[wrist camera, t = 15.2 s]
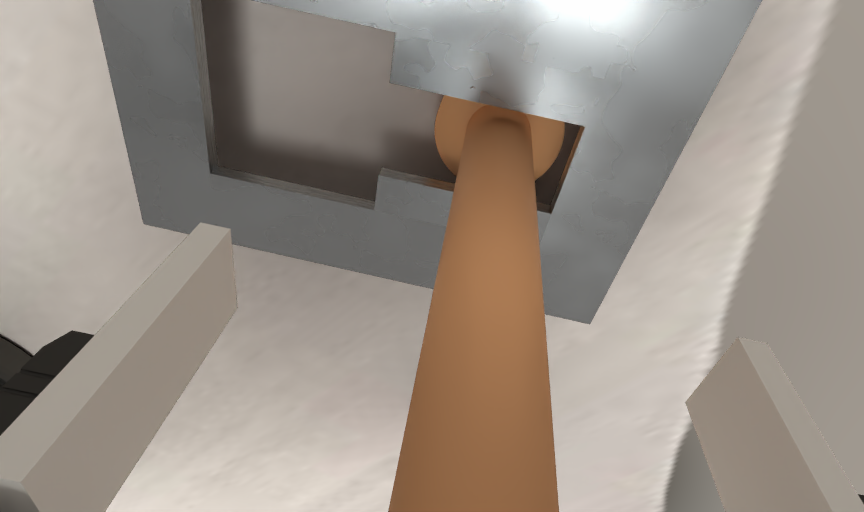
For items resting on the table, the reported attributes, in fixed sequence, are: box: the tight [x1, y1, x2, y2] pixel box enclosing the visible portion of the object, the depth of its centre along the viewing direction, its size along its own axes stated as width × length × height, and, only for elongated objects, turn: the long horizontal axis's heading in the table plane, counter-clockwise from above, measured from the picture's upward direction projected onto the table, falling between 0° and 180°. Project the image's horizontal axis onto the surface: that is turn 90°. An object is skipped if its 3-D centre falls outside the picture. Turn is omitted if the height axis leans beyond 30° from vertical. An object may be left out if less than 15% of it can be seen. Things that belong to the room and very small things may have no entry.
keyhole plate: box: [93, 0, 762, 324], centre depth 22 cm, size 24×16×4 cm, turn 80°
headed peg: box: [388, 95, 565, 512], centre depth 16 cm, size 6×6×20 cm
